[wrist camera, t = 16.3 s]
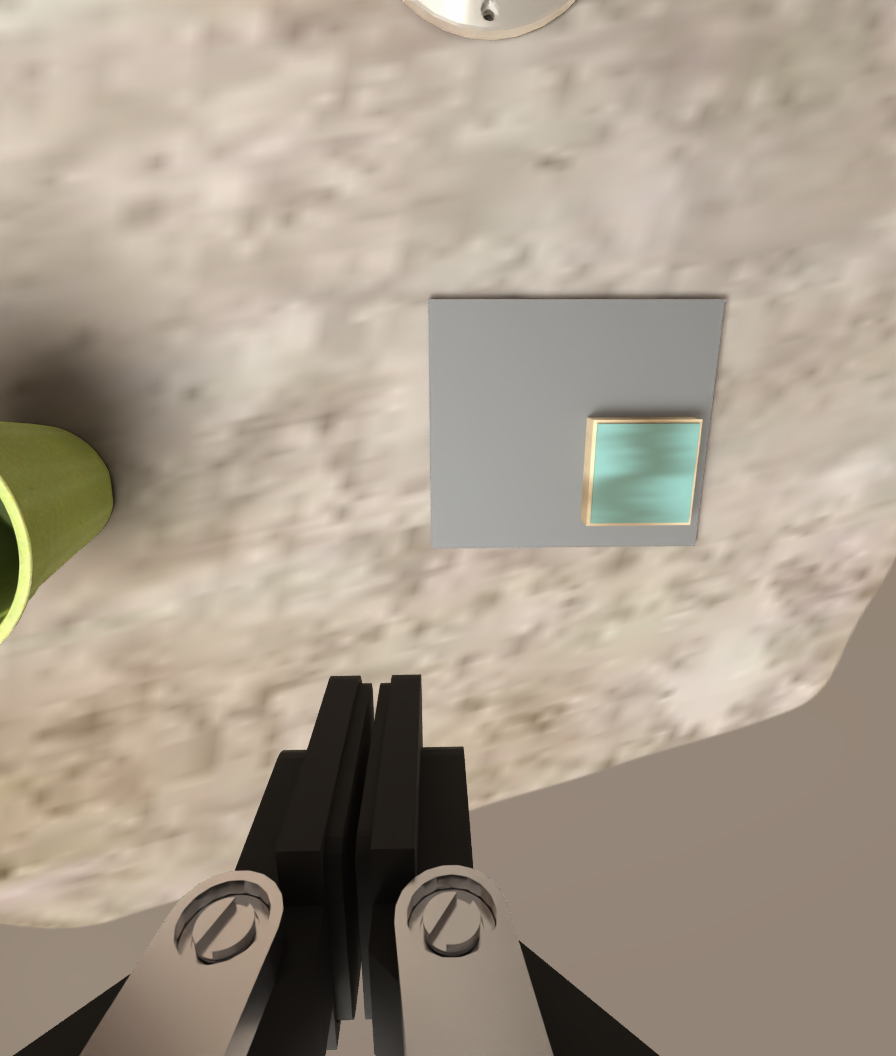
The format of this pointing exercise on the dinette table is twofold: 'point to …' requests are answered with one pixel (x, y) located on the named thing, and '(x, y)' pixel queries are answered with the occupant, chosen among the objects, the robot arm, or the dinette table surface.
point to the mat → (554, 410)
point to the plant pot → (44, 508)
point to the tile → (639, 470)
